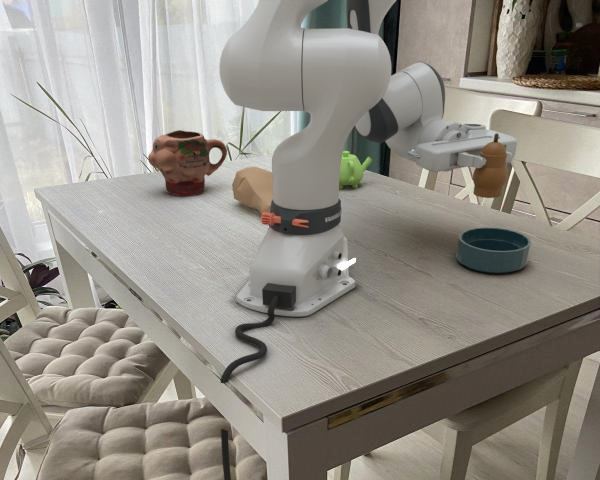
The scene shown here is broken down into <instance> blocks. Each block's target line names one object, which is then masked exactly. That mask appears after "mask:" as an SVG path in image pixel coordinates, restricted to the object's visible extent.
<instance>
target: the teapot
mask: <svg viewBox="0 0 600 480" xmlns="http://www.w3.org/2000/svg"><path fill="white" fill-rule="evenodd" d="M373 161H374V159H372V158H371V157H370V156H367V158H366V159H365V160H364V162H362V164H361V162H360V160H359V158H358V157H357V155H355V154H351V153H350V151H348V150H343V153H342V158H341V166H340V177H339V190H343V189H344V186H351V188H359V185H358V184H359V183H360V182H361V181H362V180H363V178H364V172H365V171H366V170H367V169H368V167H369V166H370V165H371V164H372V163H373Z"/></svg>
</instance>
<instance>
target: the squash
mask: <svg viewBox="0 0 600 480" xmlns="http://www.w3.org/2000/svg"><path fill="white" fill-rule="evenodd" d="M231 186H232V192H233V194H232V195H233V199H234V200H236V201H238V202H240V203H241V204H243V205H245V206H246V207H248V208H251V209H254V210H256V211H258V212H259V213H260V216H262V213H263V212H268V213H269V209H270V207H271V201H272V200H273V179H272V171H269V170H267V169H264V168H260V167H259V166H249V167H248V166H247V167H244V168H242V169H239V170H237V171H236V173H235V176H234V178H233V181H232V184H231Z"/></svg>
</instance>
